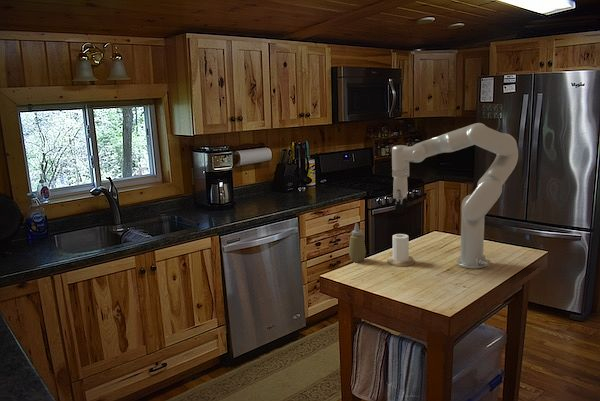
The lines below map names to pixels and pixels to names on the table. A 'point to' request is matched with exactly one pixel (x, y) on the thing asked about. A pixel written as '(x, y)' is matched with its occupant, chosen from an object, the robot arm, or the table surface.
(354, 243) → the squeeze bottle
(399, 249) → the paper roll
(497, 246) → the table surface
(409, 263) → the roll stand
